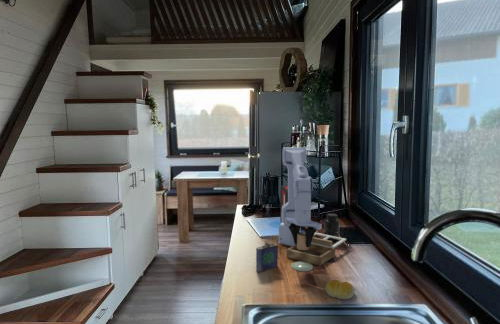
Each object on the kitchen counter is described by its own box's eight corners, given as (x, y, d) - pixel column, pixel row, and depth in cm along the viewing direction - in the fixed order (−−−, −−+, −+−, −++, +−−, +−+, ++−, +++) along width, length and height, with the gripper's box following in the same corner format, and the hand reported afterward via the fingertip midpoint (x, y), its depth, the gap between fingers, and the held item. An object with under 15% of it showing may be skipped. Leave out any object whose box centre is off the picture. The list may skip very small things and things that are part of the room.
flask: (258, 273, 131) (258, 244, 130) (254, 270, 134) (254, 242, 133) (279, 267, 136) (279, 240, 135) (274, 265, 139) (274, 238, 137)
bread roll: (330, 285, 122) (330, 274, 121) (356, 292, 117) (357, 280, 116) (321, 295, 115) (321, 283, 114) (348, 303, 110) (349, 290, 110)
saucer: (287, 268, 135) (287, 266, 135) (298, 261, 142) (298, 259, 141) (306, 274, 130) (306, 271, 130) (316, 266, 137) (316, 264, 137)
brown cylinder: (294, 248, 135) (295, 234, 134) (300, 245, 138) (300, 231, 138) (305, 251, 132) (305, 236, 132) (310, 247, 136) (311, 233, 135)
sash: (300, 241, 154) (300, 235, 154) (314, 233, 164) (315, 228, 164) (333, 248, 145) (333, 242, 145) (346, 240, 155) (346, 234, 155)
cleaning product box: (303, 229, 183) (304, 191, 181) (286, 230, 182) (286, 191, 180) (296, 220, 199) (296, 185, 197) (280, 221, 198) (280, 185, 196)
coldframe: (286, 257, 146) (286, 249, 146) (302, 248, 156) (302, 240, 156) (320, 266, 137) (320, 257, 136) (335, 256, 147) (335, 248, 147)
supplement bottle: (339, 242, 163) (340, 216, 162) (324, 241, 165) (324, 216, 163) (338, 237, 170) (339, 213, 168) (324, 237, 171) (324, 212, 170)
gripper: (280, 208, 135) (280, 244, 136) (315, 214, 126) (314, 252, 127) (290, 205, 140) (290, 239, 142) (324, 210, 131) (323, 246, 133)
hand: (302, 245), depth 135 cm, fingers closed on brown cylinder, 4 cm apart
